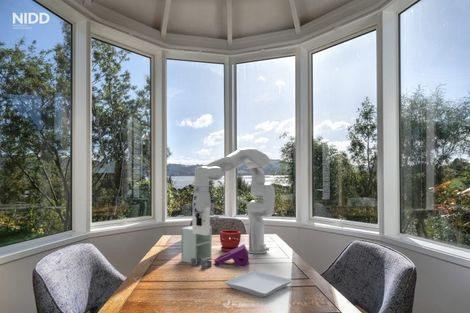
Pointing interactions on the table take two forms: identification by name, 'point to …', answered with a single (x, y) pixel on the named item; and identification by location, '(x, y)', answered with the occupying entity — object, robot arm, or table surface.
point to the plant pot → (229, 243)
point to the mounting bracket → (235, 256)
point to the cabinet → (196, 245)
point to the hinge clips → (201, 263)
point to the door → (205, 226)
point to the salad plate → (258, 283)
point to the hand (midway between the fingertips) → (200, 224)
